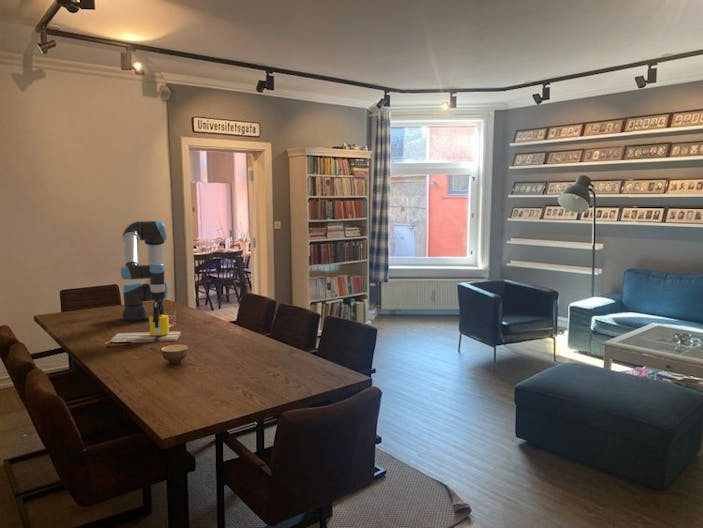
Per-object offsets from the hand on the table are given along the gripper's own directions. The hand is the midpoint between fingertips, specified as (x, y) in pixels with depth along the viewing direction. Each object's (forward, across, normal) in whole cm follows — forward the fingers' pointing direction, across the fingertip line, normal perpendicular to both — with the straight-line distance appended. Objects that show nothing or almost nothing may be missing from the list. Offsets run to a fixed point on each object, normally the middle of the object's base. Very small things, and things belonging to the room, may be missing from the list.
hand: (159, 330), depth 290 cm
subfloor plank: (+4, 0, -7) cm, 8 cm away
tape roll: (+1, 0, 0) cm, 1 cm away
